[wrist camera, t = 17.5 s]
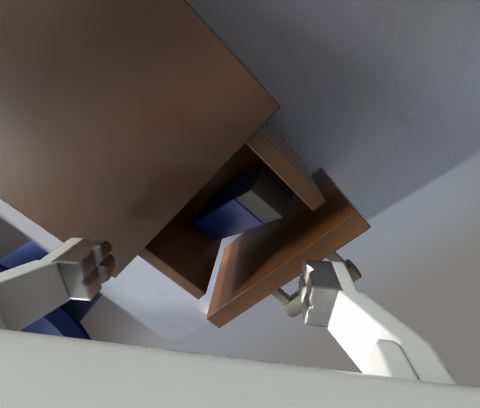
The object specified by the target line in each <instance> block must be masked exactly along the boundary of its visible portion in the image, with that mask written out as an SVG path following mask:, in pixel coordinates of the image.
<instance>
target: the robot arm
mask: <svg viewBox="0 0 480 408" xmlns="http://www.w3.org/2000/svg"><path fill="white" fill-rule="evenodd" d="M111 251H112V246H111V243H110V242H108V241H103V240H94V239H84V238H70V239H69V240H67V241H66V242H65V243H63V244H62V245H60V246H59V247H58V248H56V249H55V250H53V251H52V252H51V253H49V254H48V255H47V256H45V257H44V258H42V259H41V260H35V261H32V262H29V263H26V264H23V265H21V266H18V267H15V268H12V269H9V270H6V271H3V272H1V273H0V408H480V388H477V387H468V386H461V385H458V384H457V382H456V381H455V379H454V378H453V376H452V375H451V373H450V372H449V370H448V369H447V367H446V366H445V364H444V363H443V361H442V360H441V358H440V357H439V355H438V354H437V353H436V351H435V350H434V348H433V347H432V345H431V344H430V343H429V342H427V341H426V340H425V339H423V338H422V337H420V336H419V335H418V334H416V333H415V332H414V331H413V330H411V329H410V328H409V327H408V326H406V325H405V324H403V323H402V322H401V321H399V320H398V319H397V318H396V317H394V316H393V315H392V314H390V313H389V312H387V311H386V310H385V309H384V308H382V307H381V306H380V305H378V304H377V303H376V302H374V301H373V300H372V299H370V298H369V297H368V296H366V295H365V294H364V293H360V292H358V290H357V288H356V286H355V284H354V282H353V280H352V278H351V276H350V274H349V272H348V270H347V268H346V266H345V264H344V263H343V262H335V261H317V260H306V259H304V261H303V264H302V271H303V274H302V275H301V276H300V280H299V297H300V301H301V302H302V303H303V305H302V314H303V320H304V324H305V325H312V326H320V327H327V328H328V330H329V331H330V332H331V334H332V335H333V336H334V337H335V339H336V340H337V341H338V342H339V344H340V345H341V346H342V347H343V349H344V350H345V351H346V352H347V354H348V355H349V356H350V357H351V359H352V360H353V361H354V362H355V363H356V365H357V366H358V367H359V368H360V370H361V371H362V372H363V373H354V372H347V371H339V370H330V369H323V368H315V367H306V366H298V365H290V364H282V363H274V362H265V361H257V360H250V359H241V358H233V357H225V356H217V355H209V354H201V353H193V352H184V351H176V350H168V349H159V348H152V347H144V346H136V345H127V344H119V343H111V342H103V341H95V340H87V339H79V338H71V337H63V336H54V335H46V334H38V333H30V332H22V331H21V330H22V329H24V328H25V327H27V326H29V325H30V324H32V323H34V322H35V321H37V320H38V319H40V318H42V317H43V316H45V315H47V314H48V313H50V312H51V311H53V310H55V309H56V308H58V307H60V306H61V305H63V304H64V303H66V302H68V301H69V300H70V299H75V300H88V301H91V300H92V299H93V298H94V296H95V295H96V294H97V293H98V292H99V291H100V289H101V288H102V286H101V284H102V283H104V282H106V281H108V280H109V279H110V277H111V276H112V275H113V272H114V270H115V258H114V257H113V256H112V255H111V254H110V253H111Z"/></svg>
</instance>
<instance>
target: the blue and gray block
mask: <svg viewBox="0 0 480 408" xmlns="http://www.w3.org/2000/svg"><path fill="white" fill-rule="evenodd" d="M293 193H294V191H293V190H292V189H291V188H290V187H289V186H288V185H287V184H286V183H285V182H284V181H283V180H282V179H281V178H280V177H279V176H278V175H277V174H276V173H275V172H274V171H273V170H272V169H271V168H270V167H269V166H268V165H267V164H266V163H265V162H264V163H262V164H261V165H259V166H258V167H257V168H255V169H254V170H252V171H249V172H248V173H246V174H245V175H243V176H242V177H240V178H239V179H238V180H236V181H235V182H233V183H232V184H230V185H229V186H228V187H226V188H225V189H223V190H222V191H220V192H219V193H217V194H216V195H215V196H213V197H212V198H210V199H209V200H207V201H206V203H205V204H204V206H203V207H202V209H201V210H200V212H199V213H198V215H197V216H196V218H195V219H194V221H193V222H192V224H194V225H195V226H196V227H198V228H199V229H200V230H202V231H203V232H204V233H206V234H207V235H208V236H210V237H211V238H212V239H214V240H215V241H217V240H220V239H223V238H226V237H229V236H232V235H235V234H238V233H241V232H244V231H247V230H250V229H253V228H256V227H259V226H262V225H264V224H265V223H268V222H271V221H274V220H277V219H280V218H283V217H284V215H285V212H286V210H287V208H288V205H289V203H290V200H291V198H292V196H293Z"/></svg>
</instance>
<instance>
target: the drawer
mask: <svg viewBox="0 0 480 408" xmlns="http://www.w3.org/2000/svg"><path fill="white" fill-rule="evenodd" d="M264 162H265V163H266V164H267V165H268V166H269V167H270V168H271V169H272V170H273V171H274V172H275V173H276V174H277V175H278V176H279V177H280V178H281V179H282V180H283V181H284V182H285V183H286V184H287V185H288V186H289V187H290V188H291V189H292V190H293V191H294V193H293V196H292V198H291V200H290V203H289V205H288V208H287V210H286V212H285V215H284V217H283V218H280V219H277V220H274V221H271V222H268V223H265V224H264V225H262V226H259V227H256V228H253V229H250V230H247V231H245V232H244V233H243V234H242V235H240V236H239V237H238V238H237V239H236V240H234V241H233V242H232V243H231V244H230V245H228V246H227V247H226V248H225V249H224V252H223V256H222V260H221V264H220V268H219V272H218V275H217V279H216V283H215V287H214V291H213V294H212V298H211V302H210V306H209V310H208V314H207V317H206V319H207V320H209V321H210V322H211V323H213V324H214V325H216V326H217V327H218V328H220V327H222V326H223V325H225V324H226V323H228V322H229V321H231V320H232V319H234V318H235V317H237V316H238V315H240V314H241V313H242V312H244V311H246V310H247V309H249V308H250V307H252V306H253V305H255V304H256V303H258V302H259V301H261V300H262V299H264V298H265V297H267V296H268V295H270V294H272V295H273V296H274V297H275V298H277V299H278V300H279V301H280V302H281V303H283V307H284V310H285V311H286V313H287V314H288V315H289V316H290V317H295V316H297V315H298V314H300V313H301V312H302V305H303V303H302V302H301V301H300V297H299V290H298V291H297V292H295V293H294V294H292V295H291V296H289V295H288V294H287V293H285V292H284V291H283V290H282V289H281V288H280V287H282V286H284V285H285V284H287V283H288V282H289V281H291V280H293V279H294V278H295V277H297V276H299V275H300V274H302V273H303V271H302V264H303V261H304V259H306V260H317V261H321V260H323V259H324V258H327V259H328V260H329V261H335V262H343V263H344V264H345V266H346V268H347V270H348V272H349V274H350V276H351V278H352V280H353V282H355V281H356V280H358V279H360V278H361V274H360V272H359V270H358V269H357V268H356V266H355V265H354V264H353V263H352V262H351V261H350V260H346V261H344V260H343V259H342V258H341V257H340V256H339V255H338V254H337V253H336V252H335V251H336V250H338V249H339V248H341V247H342V246H344V245H345V244H347V243H348V242H350V241H351V240H353V239H354V238H356V237H358V236H359V235H360V234H362V233H363V232H365V231H366V230H368V229H369V228H370V227H371V226H370V225H369V224H368V223H367V221H366V220H365V219H364V218H363V216H362V215H361V214H360V213H359V212H358V210H357V209H356V208H355V207H354V205H353V204H352V203H351V202H350V201H349V199H348V198H347V197H346V196H345V195H344V193H343V192H342V191H341V190H340V188H339V187H338V186H337V185H336V184H335V182H334V181H333V180H332V179H331V177H330V176H329V175H328V174H327V173H326V172H325V171H324V170H323V169H322V168H320V169H319V170H318V171H317V172H315V173H314V174H313V175H312V176H311V174H310V173H309V171H308V169H307V168H306V166H305V164H304V163H303V162H302V161H301V159H300V158H299V157H298V156H297V155H296V154H295V153H294V152H293V151H292V150H291V149H290V148H289V147H288V146H287V145H286V143H285V142H284V141H283V140H282V139H281V138H280V137H279V136H278V135H277V134H276V133H275V132H274V131H273V130H272V129H271V128H270V126H269V125H268V124H267V123H266V122H265V123H264V124H263V125H262V126H261V128H260V129H259V130H258V131H257V132H256V133H255V134H254V135H253V136H252V137H251V138H250V139H249V140H248V141H247V142H246V143H245V144H244V145H243V146H242V147H241V148H240V149H239V150H238V151H237V152H236V153H235V154H234V155H233V156H232V158H231V159H230V160H229V161H228V162H227V163H226V164H225V165H224V166H223V167H222V168H221V169H220V170H219V171H218V172H217V173H216V174H215V175H214V176H213V177H212V178H211V179H210V180H209V181H208V182H207V183H206V184H205V185H204V186H203V188H202V189H201V190H200V191H199V192H198V193H197V194H196V195H195V196H194V197H193V198H192V199H191V200H190V201H189V202H188V203H187V204H186V205H185V206H184V207H183V208H182V209H181V210H180V211H179V212H178V213H177V214H176V215H175V216H174V218H173V219H172V220H171V221H170V222H169V223H168V224H167V225H166V226H165V227H164V228H163V229H162V230H161V231H160V232H159V233H158V234H157V235H156V236H155V237H154V238H153V239H152V240H151V241H150V242H149V243H148V244H147V245H146V247H145V248H144V249H143V250H142V251H141V252H140V253H139V254H138V255H139V256H140V257H141V258H143V259H144V260H145V261H147V262H148V263H149V264H151V265H152V266H153V267H155V268H156V269H158V270H159V271H160V272H162V273H163V274H164V275H166V276H167V277H168V278H170V279H171V280H172V281H174V282H175V283H176V284H178V285H179V286H180V287H182V288H183V289H184V290H186V291H187V292H188V293H190V294H191V295H193V296H194V297H195V298H197V299H200V298H201V297H202V296H203V295H205V294H206V291H207V288H208V284H209V281H210V277H211V274H212V271H213V267H214V264H215V261H216V257H217V254H218V251H219V247H220V244H221V240H222V239H220V240H217V241H215V240H214V239H212V238H211V237H210V236H208V235H207V234H206V233H204V232H203V231H202V230H200V229H199V228H198V227H196V226H195V225H194V224H192V222H193V221H194V219H195V218H196V216H197V215H198V213H199V212H200V210H201V209H202V207H203V206H204V204H205V203H206V201H207V200H209V199H210V198H212V197H213V196H215V195H216V194H217V193H219V192H220V191H222V190H223V189H225V188H226V187H228V186H229V185H230V184H232V183H233V182H235V181H236V180H238V179H239V178H240V177H242V176H243V175H245V174H246V173H248V172H249V171H252V170H254V169H255V168H257V167H258V166H259V165H261V164H262V163H264Z"/></svg>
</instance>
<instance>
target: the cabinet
mask: <svg viewBox="0 0 480 408" xmlns="http://www.w3.org/2000/svg"><path fill="white" fill-rule="evenodd" d="M279 108H280V105H279V104H278V103H277V101H276V100H275V99H274V98H273V97H272V96H271V95H270V94H269V93H268V91H267V90H266V89H265V88H264V87H263V86H262V85H261V84H260V83H259V81H258V80H257V79H256V78H255V77H254V76H253V75H252V74H251V73H250V71H249V70H248V69H247V68H246V67H245V66H244V65H243V64H242V63H241V61H240V60H239V59H238V58H237V57H236V56H235V55H234V54H233V53H232V51H231V50H230V49H229V48H228V47H227V46H226V45H225V44H224V43H223V41H222V40H221V39H220V38H219V37H218V36H217V35H216V34H215V33H214V31H213V30H212V29H211V28H210V27H209V26H208V25H207V24H206V23H205V21H204V20H203V19H202V18H201V17H200V16H199V15H198V14H197V13H196V11H195V10H194V9H193V8H192V7H191V6H190V5H189V4H188V3H187V1H186V0H0V199H1V200H3V201H4V202H6V203H7V204H9V205H10V206H12V207H13V208H14V209H16V210H17V211H19V212H20V213H22V214H23V215H24V216H26V217H27V218H29V219H30V220H32V221H33V222H35V223H36V224H37V225H39V226H40V227H42V228H43V229H45V230H46V231H47V232H49V233H50V234H52V235H53V236H55V237H56V238H58V239H59V240H60V241H62V242H63V243H65V242H66V241H67V240H69V239H70V238H84V239H94V240H103V241H108V242H110V243H111V246H112V251H111V253H110V254H111V255H112V256H113V257H114V258H115V270H114V272H113V275H112V277H114V278H116V277H117V275H118V274H119V273H120V272H121V271H122V270H123V269H124V268H125V267H126V266H127V265H128V264H129V263H130V262H131V261H132V260H133V259H134V258H135V257H136V256H137V255H138V254H139V253H140V252H141V251H142V250H143V249H144V248H145V247H146V245H147V244H148V243H149V242H150V241H151V240H152V239H153V238H154V237H155V236H156V235H157V234H158V233H159V232H160V231H161V230H162V229H163V228H164V227H165V226H166V225H167V224H168V223H169V222H170V221H171V220H172V219H173V218H174V216H175V215H176V214H177V213H178V212H179V211H180V210H181V209H182V208H183V207H184V206H185V205H186V204H187V203H188V202H189V201H190V200H191V199H192V198H193V197H194V196H195V195H196V194H197V193H198V192H199V191H200V190H201V189H202V188H203V186H204V185H205V184H206V183H207V182H208V181H209V180H210V179H211V178H212V177H213V176H214V175H215V174H216V173H217V172H218V171H219V170H220V169H221V168H222V167H223V166H224V165H225V164H226V163H227V162H228V161H229V160H230V159H231V158H232V156H233V155H234V154H235V153H236V152H237V151H238V150H239V149H240V148H241V147H242V146H243V145H244V144H245V143H246V142H247V141H248V140H249V139H250V138H251V137H252V136H253V135H254V134H255V133H256V132H257V131H258V130H259V129H260V128H261V126H262V125H263V124H264V123H265V122H266V121H267V120H268V119H269V118H270V117H271V116H272V115H273V114H274V113H275V112H276V111H277V110H278V109H279Z"/></svg>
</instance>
